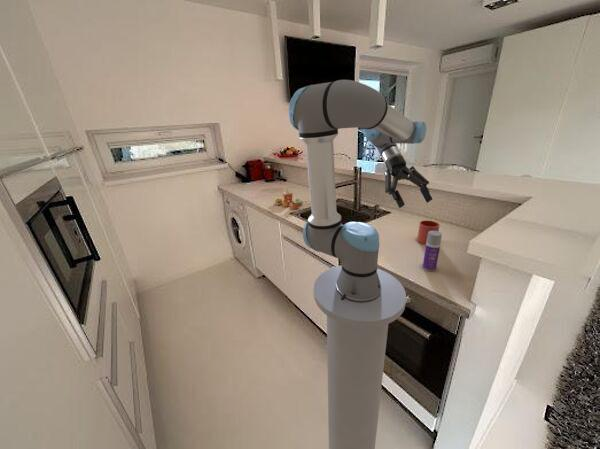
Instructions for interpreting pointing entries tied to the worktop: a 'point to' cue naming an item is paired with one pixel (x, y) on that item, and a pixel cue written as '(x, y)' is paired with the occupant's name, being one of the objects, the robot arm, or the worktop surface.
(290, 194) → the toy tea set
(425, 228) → the cup
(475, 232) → the worktop surface
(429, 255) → the container
